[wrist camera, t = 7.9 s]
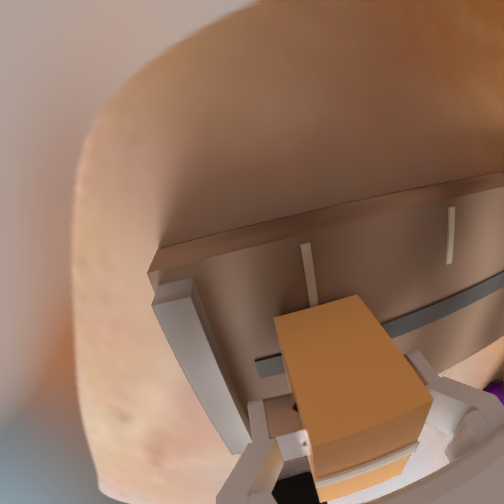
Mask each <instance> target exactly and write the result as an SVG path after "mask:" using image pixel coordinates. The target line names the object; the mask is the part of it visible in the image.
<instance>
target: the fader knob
mask: <svg viewBox="0 0 504 504" xmlns="http://www.w3.org/2000/svg"><path fill="white" fill-rule="evenodd" d="M273 319H274V323H275V328H276V332H277V337H278V341H279V346H280V350H281V354H282V359H283V363H284V368H285V372H286V377H287V381H288V386H289V390H290V393H292V392H293V395H294V398H295V402H296V407H297V411H298V413H299V416H300V419H301V423H302V426H303V430H304V435H305V442H306V445H307V450H308V455H307V458H308V461H309V465H310V469H311V472H312V476H313V479H314V483H315V487H316V490H317V494H318V497H319V501H320V503H322V502H326V501H329V500H332V499H336V498H339V497H342V496H345V495H348V494H351V493H354V492H357V491H360V490H363V489H366V488H368V487H371V486H374V485H376V484H379V483H381V482H384V481H386V480H388V479H391V478H393V477H395V476H398V475H400V474H401V472H402V471H403V469H404V467H405V465H406V463H407V461H408V459H409V457H410V455H411V454H412V453H414V452H415V451H416V449H417V447H418V445H419V441H417V440H418V437H419V435H420V433H421V431H422V428H423V426H424V423H425V421H426V418H427V416H428V413H429V411H430V408H431V406H432V403H433V400H434V398H433V397H432V395H431V394H430V393H429V391H428V390H427V388H426V387H425V385H424V384H423V382H422V381H421V380H420V378H419V377H418V375H417V374H416V372H415V371H414V370H413V368H412V367H411V365H410V364H409V363H408V361H407V360H406V358H405V357H404V356H403V354H402V353H401V352H400V350H399V349H398V347H397V346H396V345H395V343H394V342H393V341H392V339H391V338H390V337H389V335H388V334H387V333H386V331H385V330H384V329H383V327H382V326H381V325H380V323H379V322H378V321H377V319H376V318H375V317H374V315H373V314H372V313H371V311H370V310H369V309H368V308H367V306H366V305H365V304H364V302H363V301H362V300H361V298H360V297H359V296H358V295H357V294H356V295H353V296H349V297H346V298H343V299H339V300H336V301H333V302H329V303H326V304H322V305H319V306H315V307H311V308H308V309H304V310H300V311H297V312H293V313H289V314H285V315H282V316H278V317H274V318H273Z"/></svg>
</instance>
